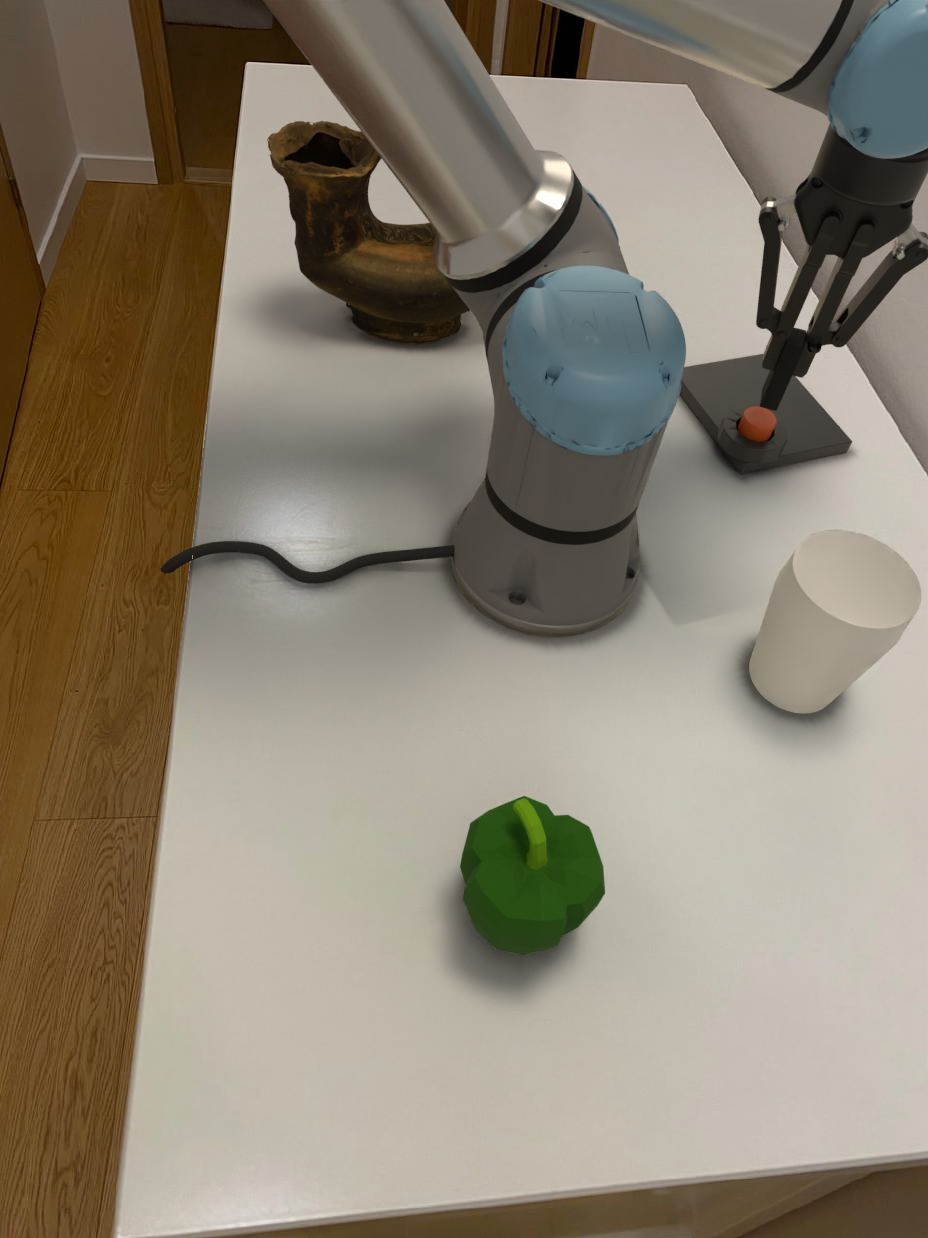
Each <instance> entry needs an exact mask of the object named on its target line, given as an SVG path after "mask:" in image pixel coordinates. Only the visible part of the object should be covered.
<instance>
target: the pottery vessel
mask: <svg viewBox="0 0 928 1238" xmlns="http://www.w3.org/2000/svg"><path fill="white" fill-rule="evenodd" d="M266 141H267V148H268V150H269V152H270V154H269V158H270V161H271V166H272V168H273V169H274V170H275V171H276V172H277V173H278V175H280V176H281V177H282V178H283V180H284V183H285V185H286V187H287V188H286V189H287V192H288V201H289V202H288V204H289V205H288V206H289V212H290V213H289V214H290V217H291V219H292V220H293V221H294V225H295V236H294V241H293V242H294V245H295V250H296V256H297V262H298V267H299V271H300V273H301V274H302V275H303V277H305V278H306V279H307V280H308V281H309V282H310V283H312V284H313V285H314V286H315V287H317V289H320V290H321V291H323V292H325V293H327V294H328V295H331V296H333V297H334V298H337V299H339V300H341V301H342V302H344V303H345V307H346V308H347V309H349V310H350V312H351V315H352V316H351V318H350V320H351V323H352V324H353V325H354V326H355V327H356V328H357V329H359V330H360V331H363V332H364V333H365V334H367V335H369V336H370V337H373V338H375V339H378V340H382V341H385V342H388V343H393V344H401V345H428V344H433V343H437V342H439V341H441V340H444V339H449V338H450V337H452V336H453V335H455V334H458V333H459V332H461V327H462V324H463V323H462V315H463V314H465V313H466V314H467V313H469V312H471V311H470V309H469V308H468V307H467V305H466V304H465V303H464V302H463V300H462V299H461V298H460V296H459V295H458V294H457V292H456V291H455V290H454V288H453V287H452V286H451V285H450V283H449V282H448V281H447V280H446V278H445V277H444V276H443V274H442V273H441V272H440V271H439V269H438V268H437V266H436V264H435V262H434V259H433V245H434V240H435V235H436V230H435V229H434V227H433V226H432V225H431V223H430V222H425V223H413V224H399V223H398V224H397V223H391V222H390V223H389V222H384V221H381V220H380V219H379V218H378V217H376V215H375V214H374V212H373V211H372V208H371V205H370V200H369V186H370V180H371V177H372V174H373V172H374V170H376V168H377V166H378V164H379V163H380V162H381V160H383V159H382V158H381V157H380V155H379V154H378V153H377V151H376V150H375V149H374V147H373V146H372V145H371V143H370V142H369V141H368V139H367V138H366V137H365V135H364V134H363V133H362V131H361V130H360V131H359V130H354V129H353V128H350V127H348V126H347V125H341V124H339V123H338V122H332V121H327V120H326V121H324V120H320V121H316V122H310V121H304V120H303V121H302V120H298V121H293V122H288V123H287V124H285V125H284V126H282V127H281V128H280V130H279V131H278V132H274V133H271V134H270V135H269V136H268V137H267V139H266Z"/></svg>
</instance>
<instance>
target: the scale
mask: <svg viewBox="0 0 928 1238" xmlns="http://www.w3.org/2000/svg"><path fill="white" fill-rule="evenodd" d="M763 355H764V353H760V354H754V355H753V354H752V355H747V356H742V357H737V358H736V357H735V358H730V359H724V360H718V361H712V362H706V363H700V364H695V365H694V364H693V365H687V366H684V369H683V373H682V374H683V376H682V379H681V391H680V394H679V396H680V397H681V398H682V400H683V402H684V403H685V404H686V405H687V406H688V408H689V409H690V411H692V413H693V414H694V415H695V417H696V418H697V419H698V421H699V422H700V424H701V425H702V427H704V429H705V430H706V432H707V433H708V434H709V435H710V437H711V438H712V440H714V442H715V443H716V445H717V447H719V448H720V450H721V451H722V453H723V454H724V455H725V456H726V458H727V459H728V461H729V462H730V464H732V466H733V467H734V469H735V470H736V471H737V472H738V474H739V475H744V474H749V473H755V472H759V471H764V470H769V469H774V468H778V467H784V466H787V465H792V464H797V463H803V462H806V461H811V460H817V459H821V458H826V457H831V456H835V455H841V454H845V453H847V452H848V451H849V449H850V447H851V446H852V443H853V440H852V439H851V438H850V437H849V436H848V435H847V433H846V432H845V431H844V430H843V429H842V428H841V427H840V426H839V424H838V423H837V422H836V421H835V420H834V419H833V417H832V416H831V415H830V414H829V413H828V412H827V411H826V409H824V407H823V406H822V405H821V404H820V403H819V401H817V399H816V398H815V397H814V395H812V393H811V392H810V391H809V390H808V389H807V387H806V386H805V385H804V384H803V383H802V382H801V381H800V380H799V379H798V377H797V376H793V375H792V377H791V379H790V382H789V384H788V386H787V388H786V391H785V393H784V395H783V397H782V400H781V402H780V404H779V406H778V409H777V411H774V410H771V409H767V408H765V409H767V410H769V411H771V412H772V413H773V414H774V415H775V417H776V420H777V422H776V425H775V427H774V429H773V431H772V434H771V436H770V438H769V439H768V440H767V441H765V442H756V441H751V440H749V439H747V438H745V437H743V436H742V435H741V434H740V433H739V432H738V425H739V423H740V420H741V418H742V416H743V413H744V411H745V410H746V409H747V408H749V407H760V401H761V394H762V388H763V386H764V383H765V381H766V379H767V376H768V374H769V372H770V370H768V369H764V368H763V367H762V361H763ZM762 408H763V407H762Z"/></svg>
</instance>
